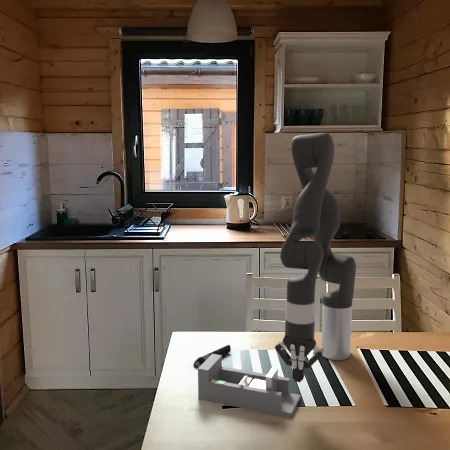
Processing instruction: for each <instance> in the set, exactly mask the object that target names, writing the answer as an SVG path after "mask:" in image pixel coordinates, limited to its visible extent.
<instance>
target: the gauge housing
mask: <svg viewBox="0 0 450 450" xmlns="http://www.w3.org/2000/svg"><path fill="white" fill-rule="evenodd" d="M267 374H268V373H261V372H257V371H256V372H255V371H251V370H250V371H249V370H244V369H238V368H233V367H228V366H223V358H222V355H217V354H211V355H210V357H209V358H208V359H207V360H206V361H205V362H204V363H203V364H202V365H201V366H200V367H199V368H197V392H198V393H197V395H198V397H197V399H198V400H199V401H200V400H202V401H204V402H205V401H206V402H211V403H217V404H221V405H226V406H231V407H236V408H240V409H241V408H242V409H245V410H250V411H251V410H252V411H257V412H262V413H267V414H272V415H276V416H282V417H286V418H292V417H293V415H294V413H295V410H296V408H297V407H298V405H299V403H300V401H301V394H298V393H291V391H290V390H291V389H290V388H291V387H290V386H291V378H290V377H286V376H281V375H280V376H279V375H278V389H277V390H276V391H271V390H266V389H260V388H255V387H249V386H244V385H241V386H238V384H239V383H240V381H241V380H242V379H243V378H244V376H248V377H252V378H253V379H254V378H258V379H263V380H266V375H267Z"/></svg>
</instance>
